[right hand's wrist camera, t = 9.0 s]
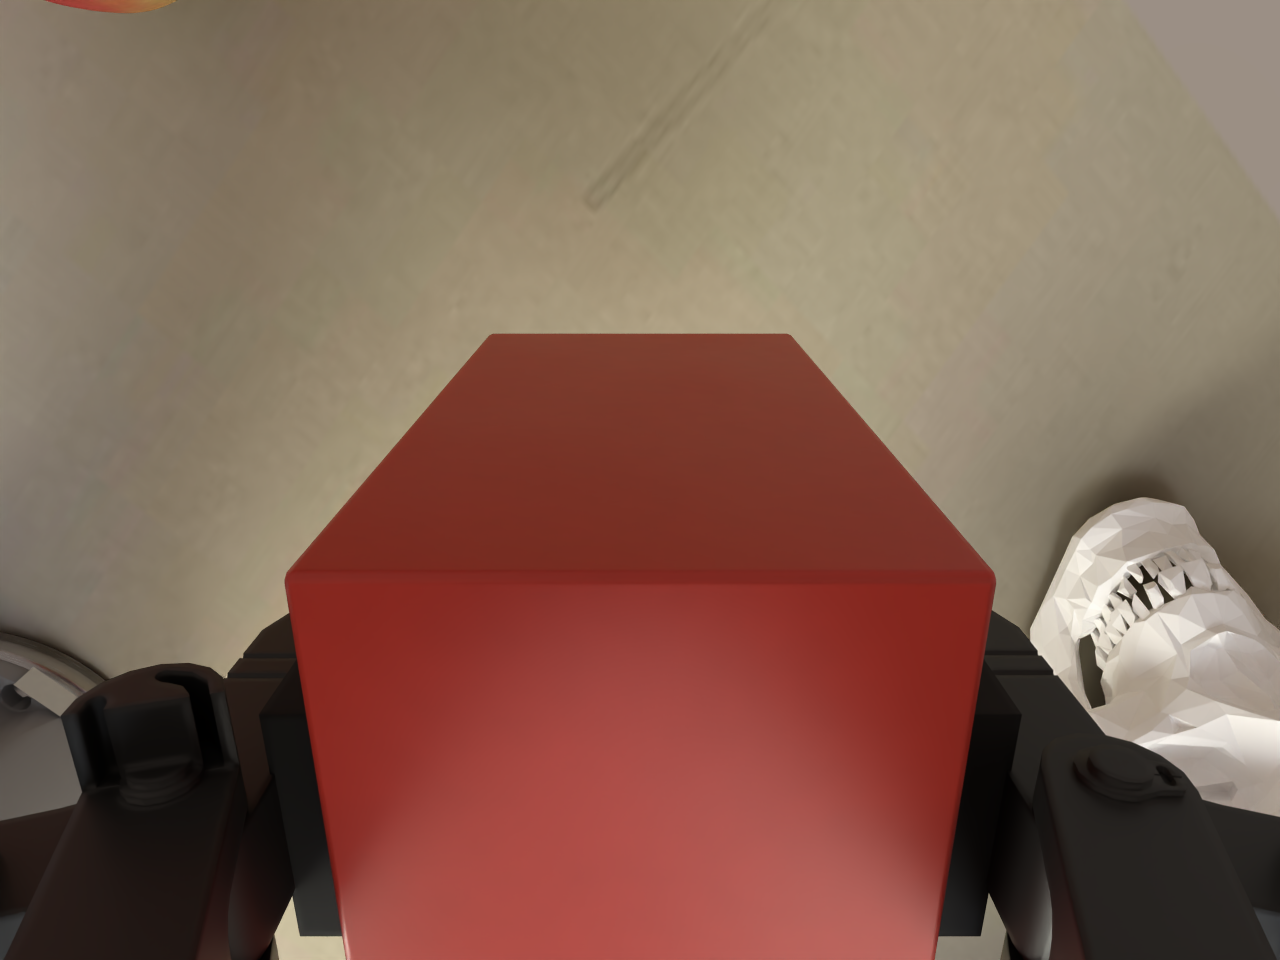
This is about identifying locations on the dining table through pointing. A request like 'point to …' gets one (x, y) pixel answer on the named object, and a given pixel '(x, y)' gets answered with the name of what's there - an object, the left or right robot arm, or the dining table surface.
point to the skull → (1170, 650)
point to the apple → (115, 5)
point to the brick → (640, 666)
